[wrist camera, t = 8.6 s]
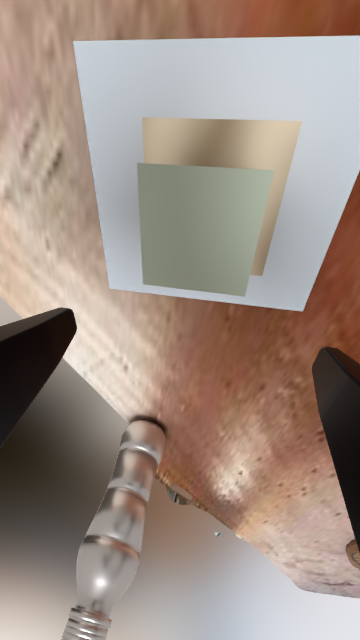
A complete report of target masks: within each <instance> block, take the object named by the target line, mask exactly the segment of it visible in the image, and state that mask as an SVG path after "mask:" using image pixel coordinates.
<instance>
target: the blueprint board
mask: <svg viewBox="0 0 360 640" xmlns="http://www.w3.org/2000/svg"><path fill="white" fill-rule="evenodd" d="M73 44H74V51H75V58H76V64H77V71H78V78H79V85H80V91H81V98H82V105H83V112H84V118H85V125H86V132H87V139H88V145H89V152H90V159H91V166H92V173H93V179H94V186H95V193H96V200H97V206H98V213H99V220H100V227H101V233H102V240H103V247H104V254H105V260H106V267H107V274H108V281H109V288H110V289H117V290H125V291H134V292H142V293H151V294H159V295H168V296H176V297H185V298H193V299H201V300H210V301H218V302H227V303H235V304H244V305H252V306H261V307H269V308H278V309H286V310H294V311H303V309H304V307H305V304H306V302H307V299H308V297H309V294H310V292H311V289H312V287H313V285H314V282H315V280H316V277H317V275H318V272H319V270H320V267H321V265H322V262H323V260H324V257H325V255H326V252H327V250H328V247H329V245H330V242H331V240H332V237H333V235H334V232H335V230H336V227H337V225H338V223H339V220H340V218H341V215H342V213H343V210H344V208H345V205H346V203H347V200H348V198H349V195H350V193H351V190H352V188H353V185H354V183H355V180H356V178H357V175H358V173H359V170H360V36H313V37H261V38H210V39H158V40H106V41H73ZM142 117H149V118H193V119H237V120H280V121H302V124H301V128H300V132H299V136H298V140H297V143H296V147H295V151H294V155H293V159H292V163H291V167H290V170H289V174H288V178H287V182H286V186H285V190H284V194H283V198H282V201H281V205H280V209H279V213H278V217H277V221H276V225H275V228H274V232H273V236H272V240H271V244H270V248H269V252H268V255H267V259H266V263H265V267H264V271H263V275H262V276H256V275H250V277H249V281H248V286H247V290H246V294H245V297H243V296H235V295H227V294H218V293H210V292H201V291H193V290H185V289H176V288H168V287H160V286H151V285H143V276H142V256H141V236H140V216H139V196H138V177H137V163H144V150H143V126H142Z"/></svg>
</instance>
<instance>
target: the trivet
mask: <svg viewBox="0 0 360 640" xmlns="http://www.w3.org/2000/svg"><path fill="white" fill-rule="evenodd" d="M346 552H347V555H348V558H349V561H350V562H351V564H352V565H353V566H354V567H356V568H358V569H359V570H360V553H359V550H358V546H357V543H356V539H355V540H352V541H351V542H350V543H349V544H347V545H346Z"/></svg>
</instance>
